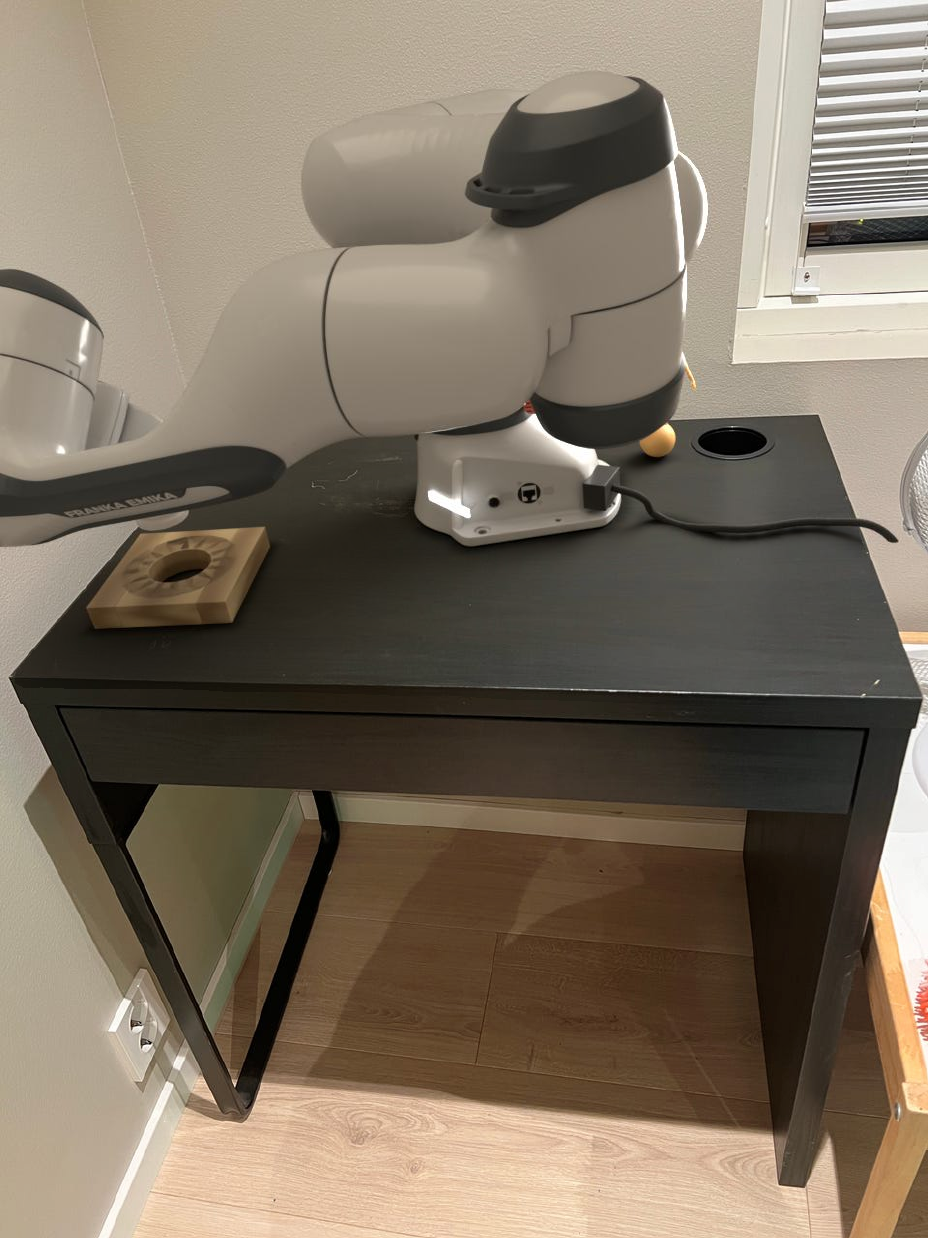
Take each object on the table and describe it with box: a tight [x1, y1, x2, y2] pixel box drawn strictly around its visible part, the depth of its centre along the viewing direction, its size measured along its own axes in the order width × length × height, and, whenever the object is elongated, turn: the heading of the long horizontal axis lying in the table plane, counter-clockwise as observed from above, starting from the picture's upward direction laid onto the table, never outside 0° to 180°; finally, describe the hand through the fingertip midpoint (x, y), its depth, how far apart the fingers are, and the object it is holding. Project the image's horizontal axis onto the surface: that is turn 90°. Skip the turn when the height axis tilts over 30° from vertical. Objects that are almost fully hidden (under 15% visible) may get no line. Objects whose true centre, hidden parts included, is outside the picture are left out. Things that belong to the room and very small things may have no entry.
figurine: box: [639, 362, 697, 458], centre depth 103 cm, size 8×6×12 cm
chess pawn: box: [135, 510, 190, 532], centre depth 87 cm, size 5×5×9 cm
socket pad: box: [85, 526, 271, 630], centre depth 94 cm, size 14×14×2 cm
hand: (153, 470), depth 87 cm, fingers closed on chess pawn, 3 cm apart
